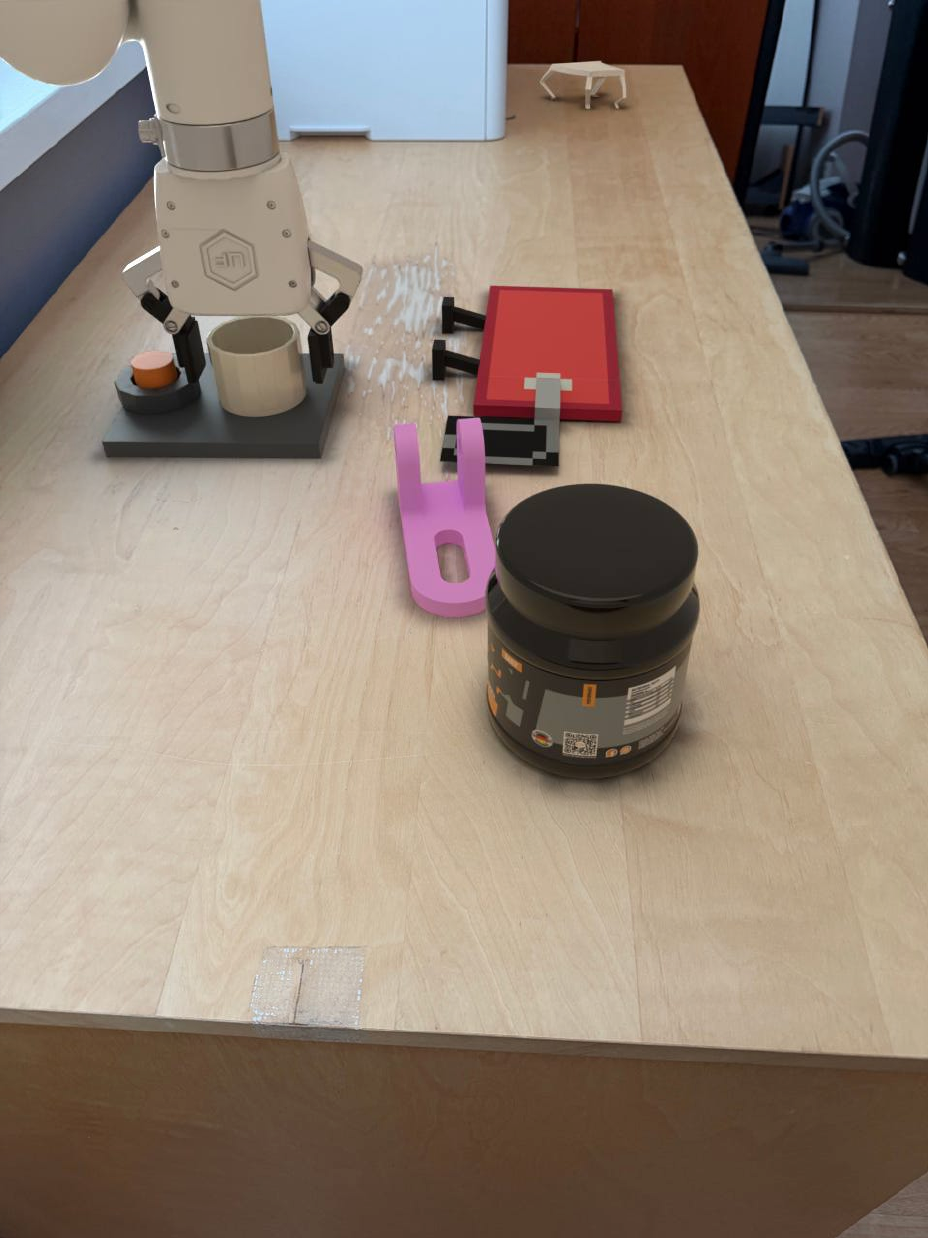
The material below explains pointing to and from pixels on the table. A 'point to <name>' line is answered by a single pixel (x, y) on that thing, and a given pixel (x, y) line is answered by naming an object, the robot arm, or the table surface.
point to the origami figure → (588, 77)
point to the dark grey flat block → (218, 420)
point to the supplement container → (590, 628)
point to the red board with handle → (534, 369)
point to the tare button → (154, 369)
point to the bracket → (445, 521)
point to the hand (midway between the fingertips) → (259, 374)
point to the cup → (257, 365)
